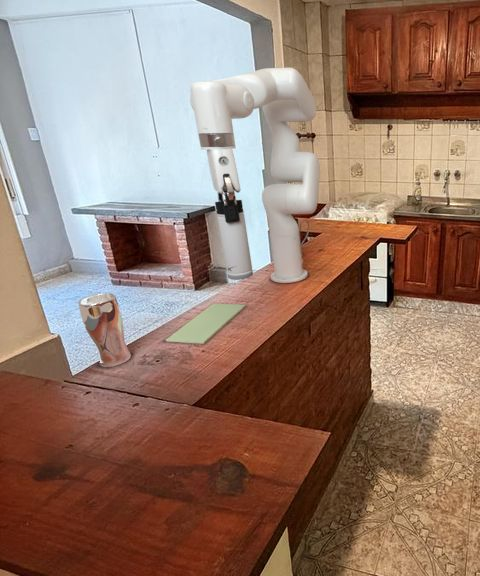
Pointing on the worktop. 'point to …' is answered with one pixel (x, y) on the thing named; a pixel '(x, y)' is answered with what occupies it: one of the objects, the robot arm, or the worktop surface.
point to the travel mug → (235, 244)
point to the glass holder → (300, 230)
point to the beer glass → (105, 328)
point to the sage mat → (206, 323)
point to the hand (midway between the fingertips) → (230, 218)
